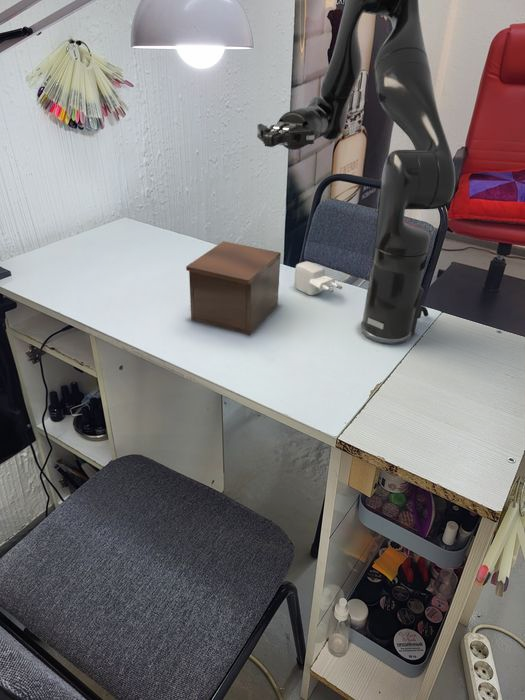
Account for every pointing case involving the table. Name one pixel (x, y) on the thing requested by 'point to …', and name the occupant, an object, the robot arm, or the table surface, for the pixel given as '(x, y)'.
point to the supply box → (234, 300)
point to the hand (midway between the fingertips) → (268, 140)
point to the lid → (234, 262)
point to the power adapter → (312, 279)
